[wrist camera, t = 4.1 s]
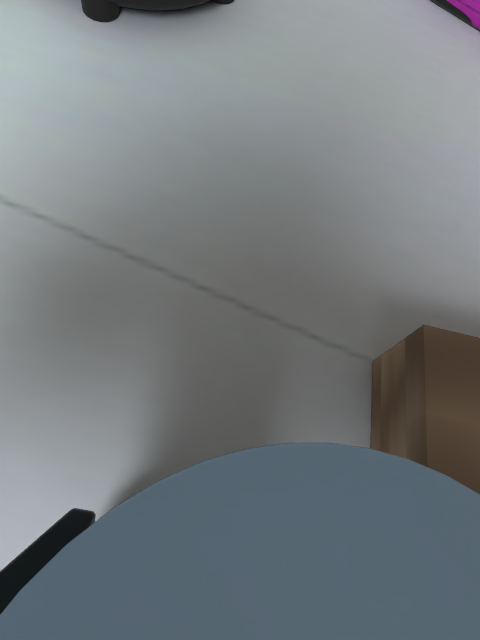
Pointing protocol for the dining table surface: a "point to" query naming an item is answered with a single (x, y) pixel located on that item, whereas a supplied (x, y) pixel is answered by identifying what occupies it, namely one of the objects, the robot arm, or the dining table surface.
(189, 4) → the mint green blender
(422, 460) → the keyhole board
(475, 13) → the candy bar box
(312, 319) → the dining table surface
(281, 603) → the keyhole stud
